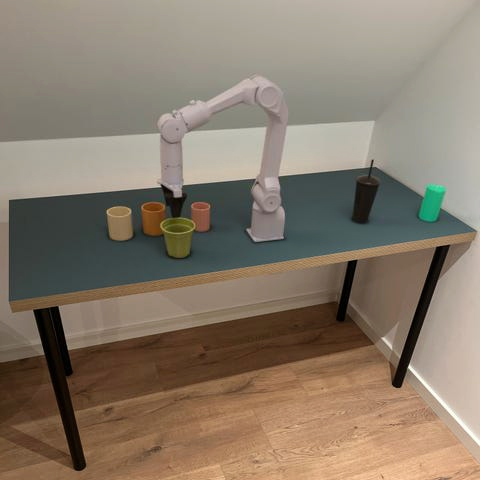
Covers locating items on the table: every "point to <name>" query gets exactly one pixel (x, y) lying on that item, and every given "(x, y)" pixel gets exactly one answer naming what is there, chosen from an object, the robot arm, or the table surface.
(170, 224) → the plant pot
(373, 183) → the drinking cup
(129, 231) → the cream cup
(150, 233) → the ochre cup
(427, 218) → the candle
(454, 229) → the table surface
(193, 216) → the rose cup
